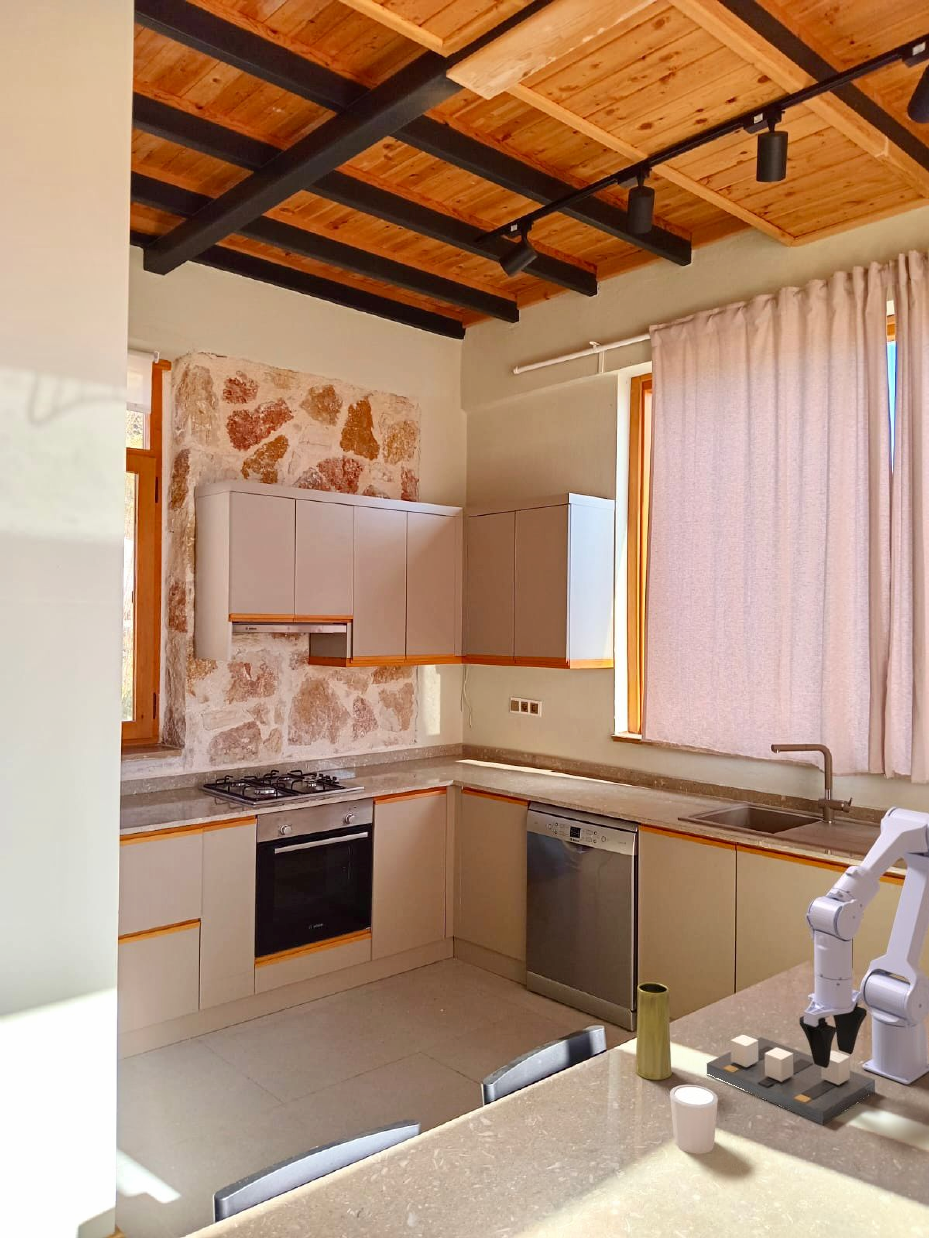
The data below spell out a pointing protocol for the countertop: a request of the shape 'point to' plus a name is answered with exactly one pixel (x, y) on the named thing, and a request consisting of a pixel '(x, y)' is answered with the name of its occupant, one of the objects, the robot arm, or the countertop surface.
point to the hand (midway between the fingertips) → (833, 1058)
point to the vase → (653, 1032)
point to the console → (794, 1084)
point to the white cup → (694, 1118)
